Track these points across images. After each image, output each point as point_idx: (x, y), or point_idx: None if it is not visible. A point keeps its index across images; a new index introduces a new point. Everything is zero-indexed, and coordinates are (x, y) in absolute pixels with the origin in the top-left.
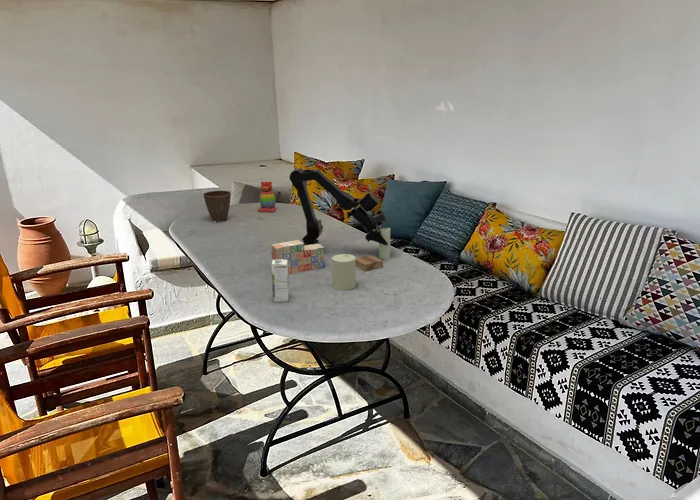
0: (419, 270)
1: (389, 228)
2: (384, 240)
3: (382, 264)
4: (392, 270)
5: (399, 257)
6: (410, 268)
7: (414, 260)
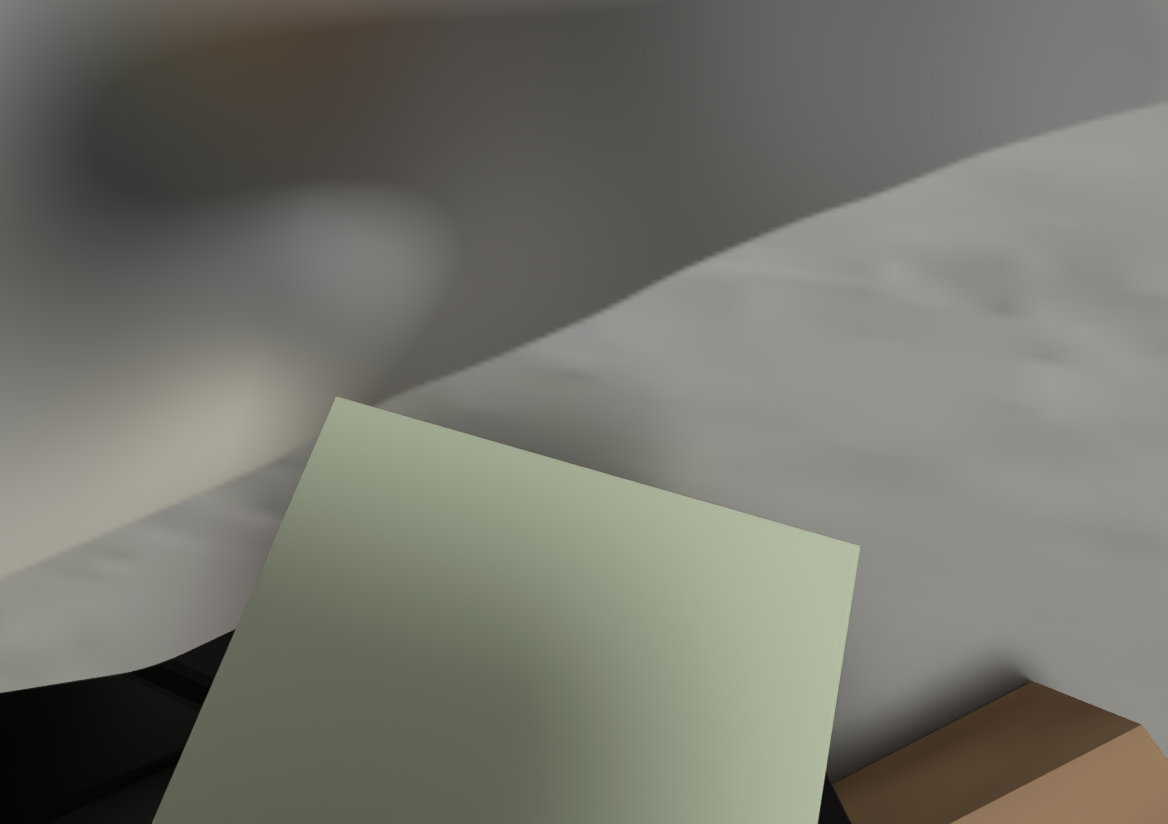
0: (1108, 253)
1: (397, 454)
2: None
3: (1077, 702)
4: (1157, 566)
5: (644, 396)
6: (1045, 335)
7: (759, 259)
